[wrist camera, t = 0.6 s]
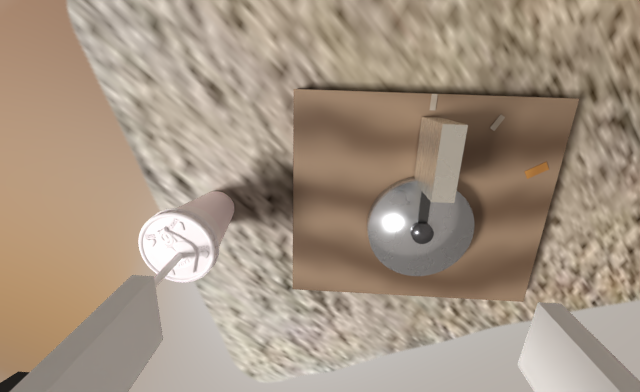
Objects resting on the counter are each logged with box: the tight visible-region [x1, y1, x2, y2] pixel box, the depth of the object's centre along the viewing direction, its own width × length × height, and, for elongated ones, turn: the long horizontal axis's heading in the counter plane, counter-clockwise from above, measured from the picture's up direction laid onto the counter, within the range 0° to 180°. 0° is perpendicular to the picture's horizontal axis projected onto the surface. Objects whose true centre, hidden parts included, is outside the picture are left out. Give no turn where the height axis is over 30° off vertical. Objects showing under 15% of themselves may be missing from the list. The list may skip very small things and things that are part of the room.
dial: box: [367, 117, 474, 276], centre depth 29 cm, size 16×10×6 cm, turn 178°
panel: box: [293, 89, 579, 302], centre depth 33 cm, size 21×25×2 cm
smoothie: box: [138, 191, 234, 288], centre depth 29 cm, size 6×6×14 cm
